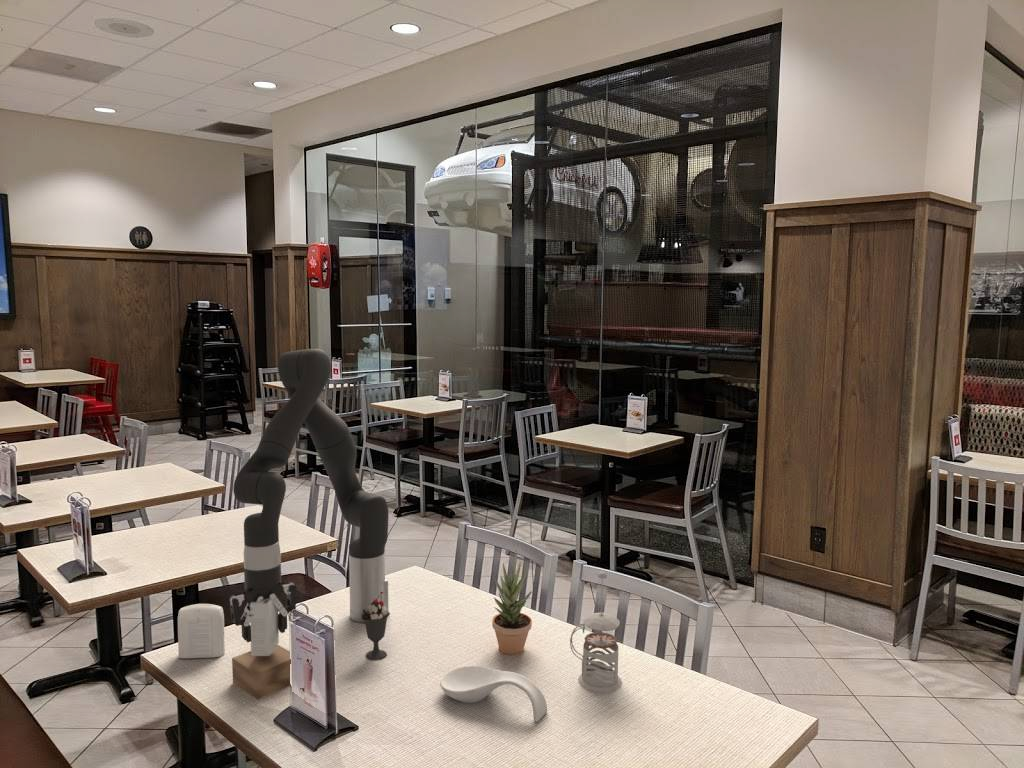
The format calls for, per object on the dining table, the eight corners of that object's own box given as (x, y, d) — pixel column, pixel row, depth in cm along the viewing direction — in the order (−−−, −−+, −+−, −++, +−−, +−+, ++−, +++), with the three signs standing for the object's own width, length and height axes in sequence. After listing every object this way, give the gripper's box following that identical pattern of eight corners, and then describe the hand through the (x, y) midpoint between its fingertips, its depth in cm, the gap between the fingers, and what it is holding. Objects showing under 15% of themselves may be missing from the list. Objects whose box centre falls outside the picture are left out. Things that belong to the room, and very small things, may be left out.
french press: (621, 695, 157) (624, 582, 154) (566, 689, 159) (568, 577, 156) (623, 672, 166) (626, 565, 163) (572, 666, 168) (574, 561, 166)
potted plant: (531, 658, 172) (532, 557, 169) (491, 657, 172) (491, 556, 170) (531, 639, 182) (532, 542, 179) (493, 638, 182) (493, 542, 179)
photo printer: (227, 649, 175) (225, 599, 174) (222, 658, 171) (220, 607, 170) (182, 652, 174) (179, 602, 173) (176, 660, 170) (173, 609, 168)
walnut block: (274, 667, 168) (273, 642, 167) (299, 682, 161) (298, 656, 161) (233, 684, 160) (232, 658, 160) (257, 700, 154) (256, 673, 153)
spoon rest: (429, 701, 154) (429, 669, 153) (459, 676, 164) (459, 645, 164) (530, 733, 143) (530, 698, 142) (555, 704, 153) (556, 671, 153)
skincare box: (260, 643, 163) (258, 590, 162) (280, 643, 163) (278, 591, 162) (250, 656, 157) (248, 602, 156) (271, 657, 157) (269, 602, 156)
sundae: (393, 649, 176) (393, 589, 175) (386, 662, 170) (385, 600, 168) (366, 647, 177) (365, 587, 175) (358, 661, 170) (357, 599, 169)
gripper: (289, 550, 165) (291, 621, 167) (222, 564, 156) (225, 638, 158) (301, 560, 159) (303, 633, 161) (233, 575, 150) (236, 652, 152)
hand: (265, 635), depth 160 cm, fingers closed on skincare box, 6 cm apart
